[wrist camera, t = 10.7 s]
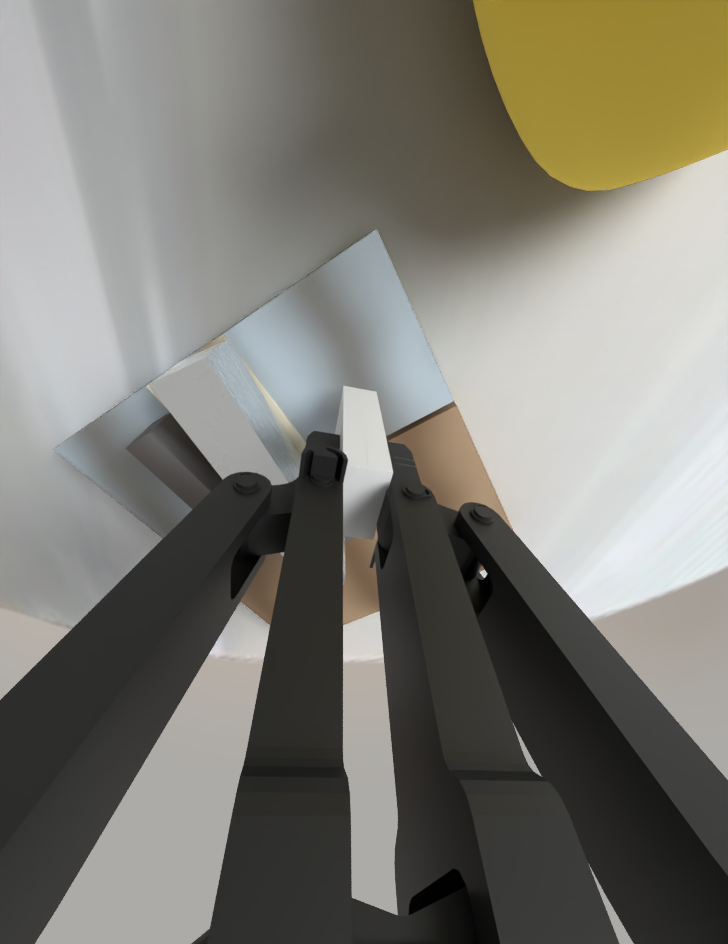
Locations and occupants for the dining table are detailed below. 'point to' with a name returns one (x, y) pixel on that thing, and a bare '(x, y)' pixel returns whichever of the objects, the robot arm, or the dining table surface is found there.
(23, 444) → the dining table surface
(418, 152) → the dining table surface
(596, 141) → the teapot
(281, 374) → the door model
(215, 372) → the latch bar
